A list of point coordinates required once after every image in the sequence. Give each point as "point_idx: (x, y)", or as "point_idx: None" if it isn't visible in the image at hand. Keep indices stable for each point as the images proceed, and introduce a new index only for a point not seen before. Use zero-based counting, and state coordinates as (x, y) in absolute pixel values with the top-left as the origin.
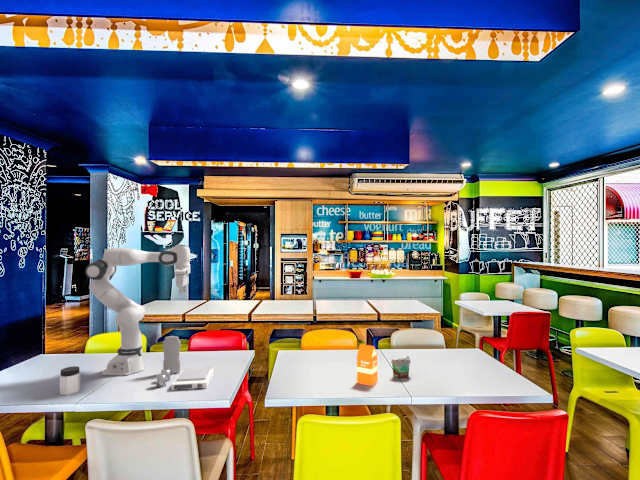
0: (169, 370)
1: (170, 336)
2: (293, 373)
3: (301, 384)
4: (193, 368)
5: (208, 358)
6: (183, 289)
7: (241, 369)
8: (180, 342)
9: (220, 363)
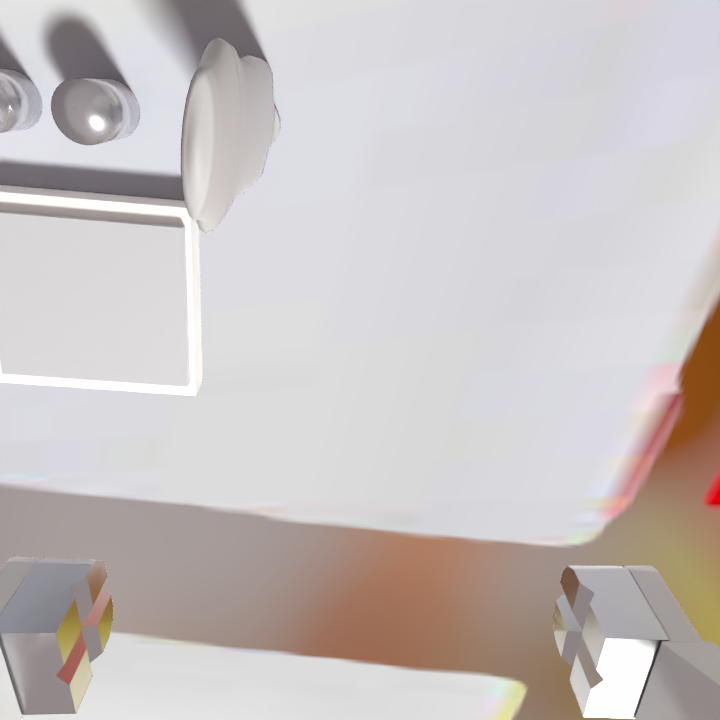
0: (77, 142)
1: (190, 135)
2: (159, 689)
3: None
4: (178, 287)
5: (516, 328)
6: (595, 662)
7: (251, 508)
8: (203, 230)
9: (385, 404)
